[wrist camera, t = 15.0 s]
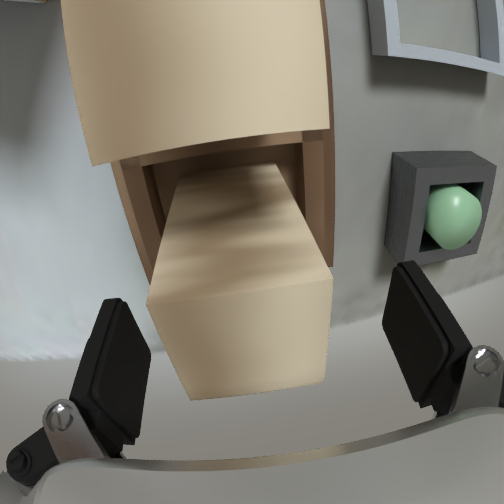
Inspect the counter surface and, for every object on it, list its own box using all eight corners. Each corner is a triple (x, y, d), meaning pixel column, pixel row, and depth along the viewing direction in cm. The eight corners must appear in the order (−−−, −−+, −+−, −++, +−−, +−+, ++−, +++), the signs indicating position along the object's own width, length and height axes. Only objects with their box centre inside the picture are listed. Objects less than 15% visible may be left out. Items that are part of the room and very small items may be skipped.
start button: (460, 174, 19) (486, 192, 16) (451, 224, 21) (474, 245, 18) (416, 177, 19) (441, 196, 16) (409, 230, 21) (430, 254, 18)
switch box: (470, 151, 19) (496, 166, 16) (456, 233, 22) (476, 253, 20) (392, 152, 18) (416, 168, 16) (384, 244, 22) (402, 268, 20)
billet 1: (253, -4, 12) (305, -87, 3) (264, 88, 14) (329, 128, 6) (149, 12, 12) (58, -42, 3) (163, 103, 14) (92, 166, 6)
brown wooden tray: (310, -38, 12) (330, -57, 9) (326, 253, 22) (342, 285, 19) (89, -4, 11) (63, -15, 8) (155, 278, 22) (148, 313, 19)
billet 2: (274, 160, 17) (333, 278, 8) (280, 240, 19) (323, 381, 11) (180, 174, 17) (146, 304, 8) (197, 252, 19) (190, 400, 11)
